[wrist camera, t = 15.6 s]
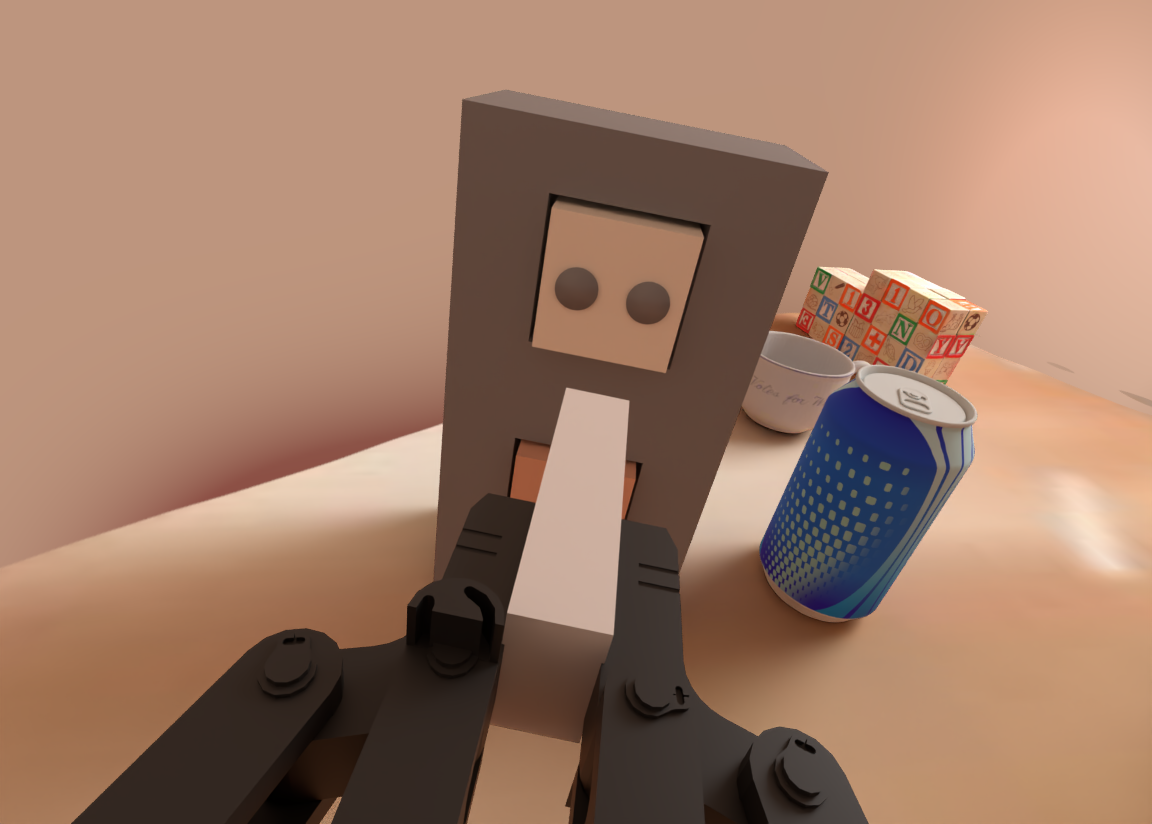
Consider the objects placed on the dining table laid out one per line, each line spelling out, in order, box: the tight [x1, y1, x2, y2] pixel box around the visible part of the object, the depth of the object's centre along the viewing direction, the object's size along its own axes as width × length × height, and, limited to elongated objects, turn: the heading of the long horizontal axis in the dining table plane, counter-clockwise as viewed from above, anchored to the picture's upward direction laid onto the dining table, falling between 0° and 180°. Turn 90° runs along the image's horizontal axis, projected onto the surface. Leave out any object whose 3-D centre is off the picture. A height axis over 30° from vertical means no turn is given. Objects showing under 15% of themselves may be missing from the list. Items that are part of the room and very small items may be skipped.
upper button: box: [532, 195, 704, 373], centre depth 28 cm, size 8×6×6 cm
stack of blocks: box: [796, 267, 988, 385], centre depth 77 cm, size 21×6×12 cm, turn 20°
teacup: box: [742, 331, 870, 433], centre depth 60 cm, size 14×11×8 cm
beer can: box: [759, 365, 977, 622], centre depth 38 cm, size 8×8×16 cm
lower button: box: [510, 439, 636, 519], centre depth 34 cm, size 8×6×6 cm
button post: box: [434, 90, 829, 582], centre depth 33 cm, size 8×14×27 cm, turn 84°
